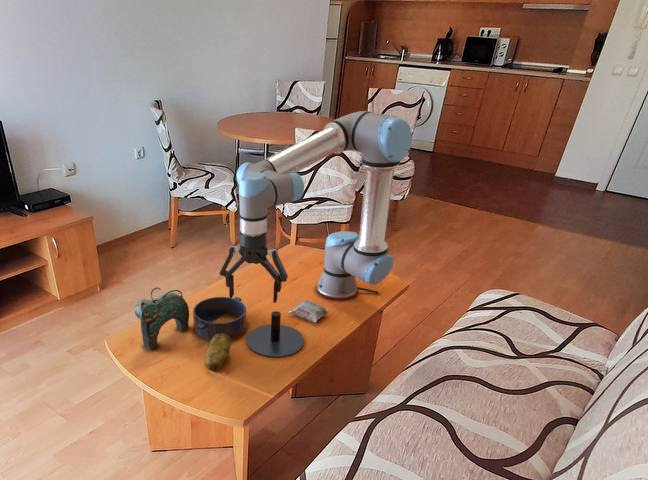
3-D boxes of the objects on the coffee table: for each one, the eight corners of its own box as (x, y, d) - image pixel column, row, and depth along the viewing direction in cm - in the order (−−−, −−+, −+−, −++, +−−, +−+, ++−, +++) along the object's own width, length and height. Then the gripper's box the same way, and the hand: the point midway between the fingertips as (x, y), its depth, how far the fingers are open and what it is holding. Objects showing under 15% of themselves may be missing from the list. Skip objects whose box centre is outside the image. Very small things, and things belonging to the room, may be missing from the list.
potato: (195, 367, 156) (193, 346, 151) (218, 347, 165) (218, 327, 160) (216, 376, 152) (215, 354, 148) (239, 355, 161) (239, 334, 156)
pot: (259, 319, 179) (260, 302, 175) (222, 351, 163) (221, 333, 159) (218, 305, 187) (218, 289, 183) (179, 334, 171) (177, 317, 167)
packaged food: (315, 328, 174) (316, 315, 171) (287, 316, 180) (288, 304, 177) (328, 318, 179) (330, 306, 176) (301, 307, 185) (302, 295, 182)
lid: (313, 337, 169) (316, 309, 162) (285, 366, 156) (287, 336, 149) (265, 321, 177) (266, 293, 171) (235, 347, 165) (234, 318, 158)
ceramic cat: (148, 354, 162) (140, 300, 150) (136, 346, 166) (127, 293, 154) (193, 329, 174) (189, 277, 162) (181, 322, 177) (176, 271, 166)
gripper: (299, 229, 140) (295, 296, 153) (214, 223, 145) (217, 288, 158) (295, 240, 134) (292, 308, 147) (206, 233, 139) (210, 300, 152)
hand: (253, 298), depth 152 cm, fingers open, 13 cm apart
